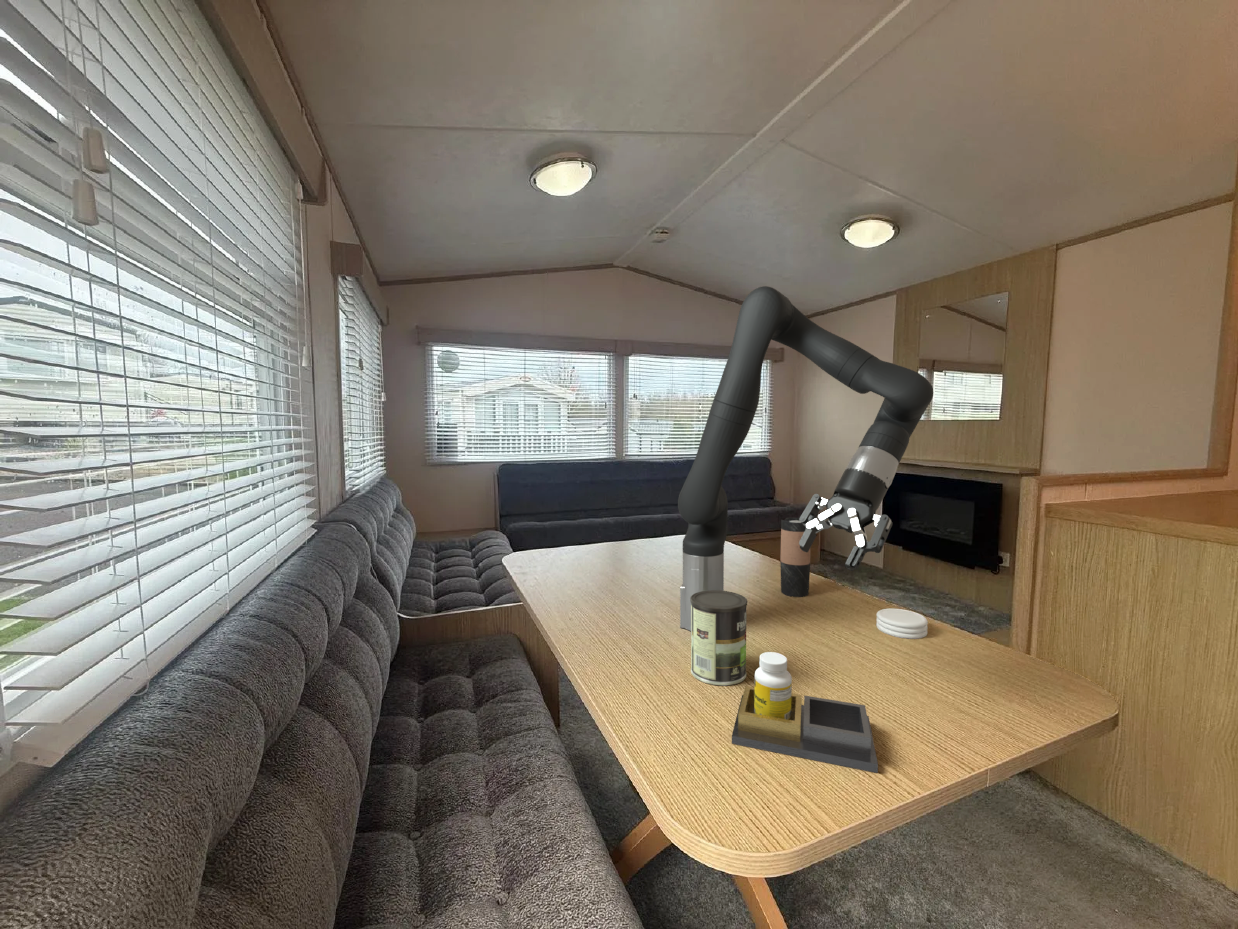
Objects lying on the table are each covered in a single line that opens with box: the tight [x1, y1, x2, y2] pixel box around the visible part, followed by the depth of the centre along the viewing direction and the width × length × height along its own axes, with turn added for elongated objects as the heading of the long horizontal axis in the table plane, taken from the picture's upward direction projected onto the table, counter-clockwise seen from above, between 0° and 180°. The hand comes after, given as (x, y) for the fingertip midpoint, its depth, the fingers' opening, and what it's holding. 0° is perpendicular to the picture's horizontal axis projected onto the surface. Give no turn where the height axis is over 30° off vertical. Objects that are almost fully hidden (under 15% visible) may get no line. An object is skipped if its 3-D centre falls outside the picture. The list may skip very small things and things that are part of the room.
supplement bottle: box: [753, 651, 793, 720], centre depth 78 cm, size 5×5×10 cm
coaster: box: [875, 608, 929, 640], centre depth 115 cm, size 10×10×4 cm
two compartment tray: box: [731, 685, 879, 774], centre depth 77 cm, size 19×12×4 cm, turn 70°
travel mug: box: [779, 517, 811, 598], centre depth 140 cm, size 8×8×20 cm
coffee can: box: [690, 590, 748, 686], centre depth 96 cm, size 10×10×14 cm
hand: (825, 559), depth 88 cm, fingers open, 8 cm apart
